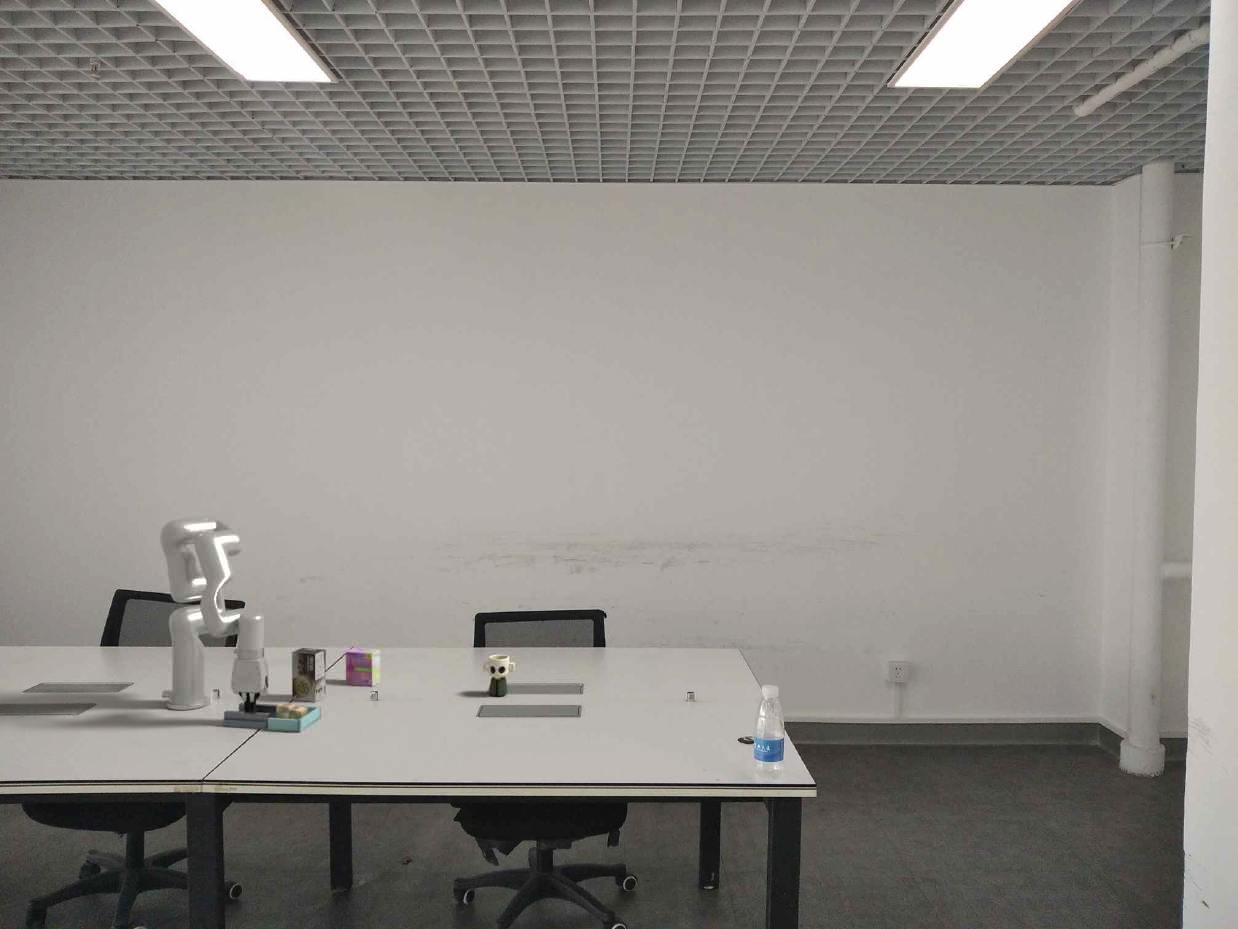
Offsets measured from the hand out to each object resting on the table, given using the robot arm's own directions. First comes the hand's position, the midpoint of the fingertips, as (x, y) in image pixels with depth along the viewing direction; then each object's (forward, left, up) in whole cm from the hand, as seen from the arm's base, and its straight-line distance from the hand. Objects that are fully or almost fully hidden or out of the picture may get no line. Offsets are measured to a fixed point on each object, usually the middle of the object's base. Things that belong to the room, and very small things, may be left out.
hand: (250, 713), depth 287 cm
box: (+17, +47, -3) cm, 50 cm away
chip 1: (+11, 0, -1) cm, 11 cm away
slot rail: (+2, 0, -2) cm, 3 cm away
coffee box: (+7, +26, -3) cm, 27 cm away
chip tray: (+15, 0, -2) cm, 15 cm away
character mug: (+67, +43, -3) cm, 79 cm away
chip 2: (+13, 0, 0) cm, 14 cm away
